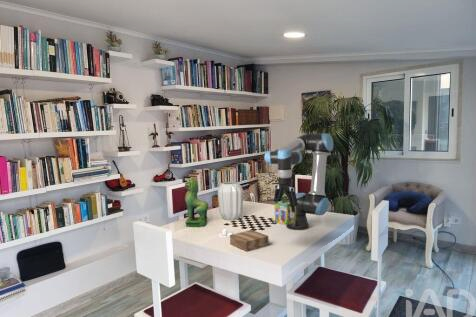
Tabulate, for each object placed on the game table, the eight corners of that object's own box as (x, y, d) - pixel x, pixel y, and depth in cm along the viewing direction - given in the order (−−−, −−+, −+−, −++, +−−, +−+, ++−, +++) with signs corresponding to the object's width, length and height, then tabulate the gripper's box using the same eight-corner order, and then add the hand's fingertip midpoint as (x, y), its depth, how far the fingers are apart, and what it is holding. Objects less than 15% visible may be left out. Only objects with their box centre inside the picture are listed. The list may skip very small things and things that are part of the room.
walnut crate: (251, 239, 207) (251, 229, 207) (269, 246, 194) (268, 236, 193) (229, 244, 198) (229, 234, 197) (246, 252, 184) (246, 241, 184)
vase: (234, 222, 244) (234, 185, 242) (213, 219, 254) (212, 184, 252) (248, 216, 260) (247, 182, 258) (227, 214, 270) (226, 180, 268)
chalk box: (287, 225, 183) (287, 199, 182) (274, 222, 190) (273, 197, 188) (297, 221, 190) (296, 196, 189) (283, 219, 196) (283, 194, 195)
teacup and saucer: (234, 235, 215) (234, 229, 215) (225, 238, 209) (225, 232, 209) (224, 233, 221) (224, 227, 220) (216, 236, 215) (215, 230, 214)
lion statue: (187, 222, 248) (186, 175, 246) (209, 222, 247) (208, 175, 244) (183, 227, 235) (181, 178, 232) (206, 227, 234) (205, 177, 231)
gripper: (266, 175, 195) (267, 213, 197) (294, 179, 176) (295, 221, 178) (276, 174, 199) (277, 211, 201) (304, 178, 181) (304, 218, 183)
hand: (285, 215), depth 190 cm, fingers closed on chalk box, 10 cm apart
